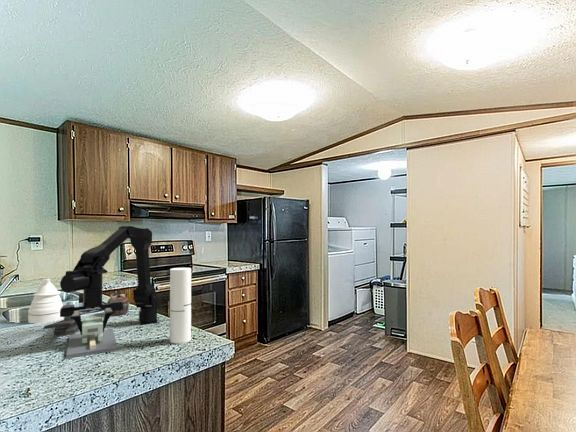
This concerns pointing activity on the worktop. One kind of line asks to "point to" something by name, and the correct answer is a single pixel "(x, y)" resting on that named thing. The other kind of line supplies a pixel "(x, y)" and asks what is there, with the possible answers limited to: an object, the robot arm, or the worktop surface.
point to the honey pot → (45, 304)
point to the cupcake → (123, 298)
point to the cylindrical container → (180, 305)
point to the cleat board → (91, 344)
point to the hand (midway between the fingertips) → (92, 333)
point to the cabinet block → (92, 328)
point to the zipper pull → (64, 327)
